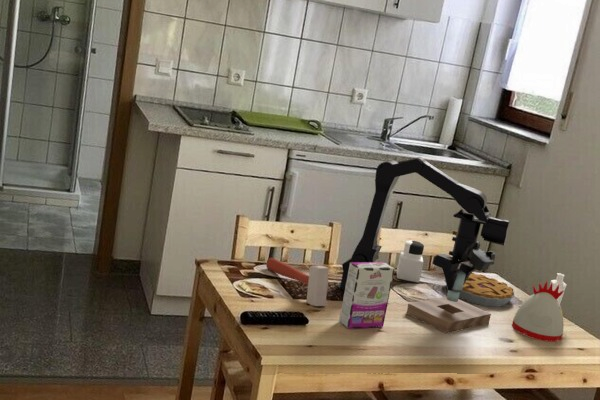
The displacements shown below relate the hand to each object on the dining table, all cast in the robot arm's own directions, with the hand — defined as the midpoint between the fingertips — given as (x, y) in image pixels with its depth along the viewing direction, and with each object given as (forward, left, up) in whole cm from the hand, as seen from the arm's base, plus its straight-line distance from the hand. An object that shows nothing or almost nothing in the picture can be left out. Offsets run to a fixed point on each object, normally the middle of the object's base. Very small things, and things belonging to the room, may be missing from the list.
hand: (454, 289), depth 212 cm
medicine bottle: (+17, +29, -9) cm, 35 cm away
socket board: (0, 0, -9) cm, 9 cm away
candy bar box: (-30, +6, -9) cm, 32 cm away
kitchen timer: (+21, -16, -9) cm, 28 cm away
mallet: (-29, +33, -9) cm, 45 cm away
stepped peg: (0, 0, -3) cm, 3 cm away
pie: (+29, +10, -9) cm, 32 cm away
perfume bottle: (+33, -13, -9) cm, 37 cm away
